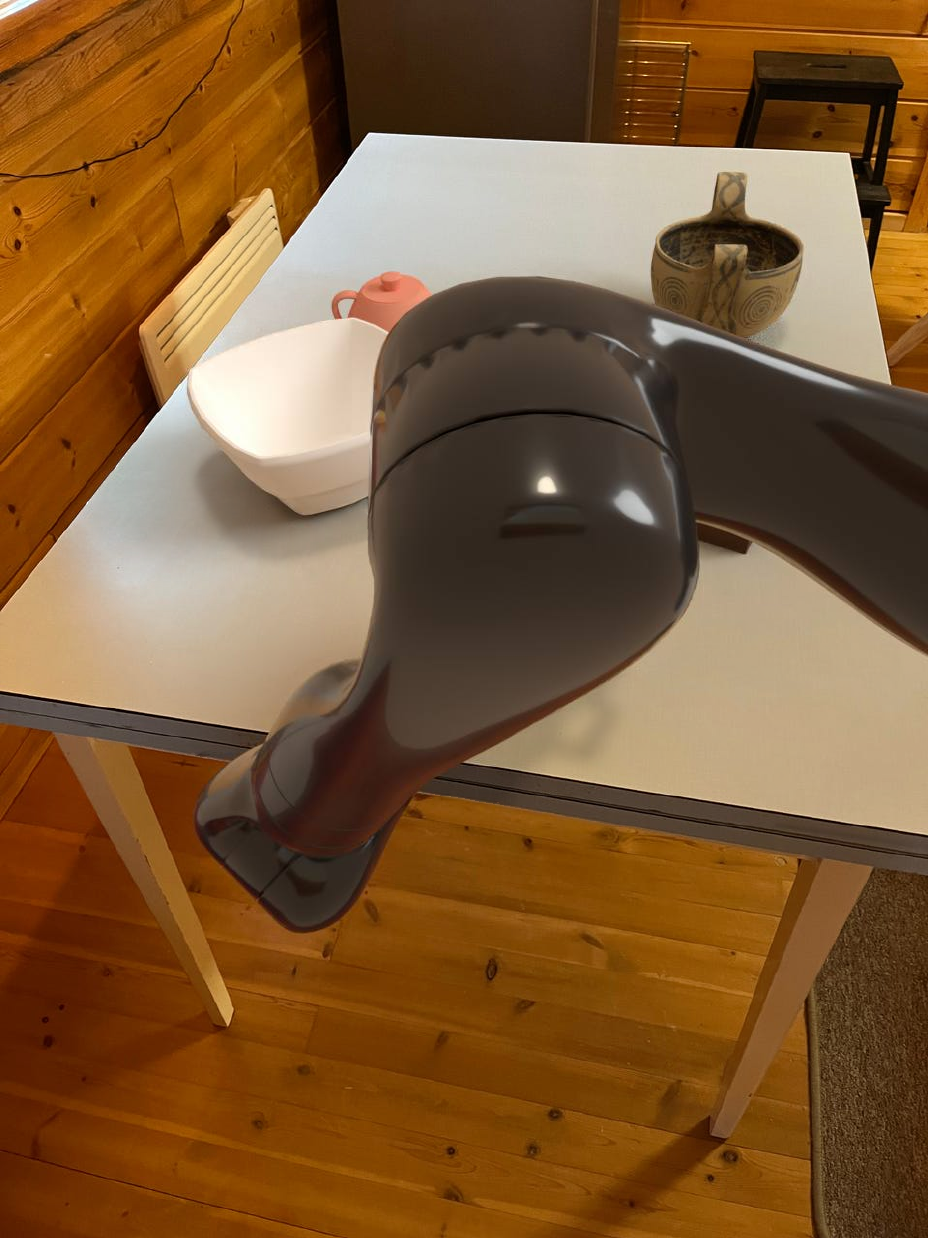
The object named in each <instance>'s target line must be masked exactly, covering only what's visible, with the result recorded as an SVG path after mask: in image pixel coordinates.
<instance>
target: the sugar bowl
mask: <svg viewBox="0 0 928 1238" xmlns="http://www.w3.org/2000/svg"><path fill="white" fill-rule="evenodd" d="M431 295H433V293H431V291H430V290H429V289H428V287H427V286H426V285H425V284H424V283H423V282H422V281H421V280H419V279H418V278H417V277H414V276H412V275H408V274H402V273H400V272H398V271H391V270H390V271H386V272H382V273H381V274H380V275H379V276H375V277H373V278H371V279H369V280H367V281H366V282H365V283H364V284H363V285H362V286H361V287H360V289H359V290H358V292H357V291H355V290H350V289H346V290H342V291H339V292H338V293H336V294H335V295H334V296H333V298H332V300H331V312H332V316H333V318H334V320H335V319H343V317H342V314H341V312H340V309H339V303H340V302H341V301H344V300H353V302H352V303H351V306H350V309H349V311H348V314H347V318H357V319H360V320H363V321H366V322H369V323H371V324H374V325H377V326H378V327H380V328H382V329H384V330H385V331H387V332H389V331H390V330H391V329H392V328H393V326H394V325H395V324H396V323H397V322H398V321H399V320H400V319H401V317H402V316H403V315H404V314H405V313H406V312H407V311H409V310H410V309H412V308H413V307H415V306H416V305H418V304H419V303H421V302H422V301H424V300H425V299H427V298H428V297H430V296H431Z"/></svg>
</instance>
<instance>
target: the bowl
mask: <svg viewBox="0 0 928 1238" xmlns="http://www.w3.org/2000/svg"><path fill="white" fill-rule="evenodd" d="M388 333H389V332H387V331H385V330H384V329H382V328H380V327H378V326H377V325H374V324H371V323H369V322H366V321H363V320H360V319H357V318H348V317H345V318H343V317H342V319H335V318H334V319H328V320H321V321H317V322H313V323H307V324H303V325H300V326H295V327H292V328H288V329H283V330H279V331H275V332H273V333H269V334H266V335H263V336H261V337H258V338H255V339H251V340H249V341H246V342H243V343H239V344H238V345H236V346H233V347H230V348H228V349H226V350H224V351H221V352H219V353H216V354H214V355H212V356H210V357H208V358H206V359H205V360H203V361H201V362H199V363H197V364H196V365H194V366H192V367H191V368H190V369H189V371H188V374H187V383H186V396H187V398H188V402H189V406H190V409H191V411H192V413H193V415H194V417H195V418H196V420H197V422H198V424H199V425H200V427H201V429H202V431H204V432H205V433H206V434H207V436H209V437H210V439H211V440H213V442H214V443H215V444H216V445H217V446H218V447H219V448H220V449H221V451H222V452H223V453H225V454H226V456H227V457H228V458H229V459H230V460H231V461H232V462H233V463H234V464H235V465H236V467H237V468H238V469H239V470H240V471H241V472H242V473H243V474H244V475H245V476H246V477H247V478H248V479H249V481H251V482H253V483H254V484H255V485H256V486H257V487H259V488H260V489H261V490H263V492H266V493H268V494H270V495H272V496H274V497H276V498H277V499H278V500H279V501H280V502H281V503H283V504H284V505H285V506H287V507H288V508H290V509H291V510H292V511H293V512H294V513H297V514H299V515H301V516H308V515H316V514H320V513H324V512H328V511H332V510H336V509H339V508H342V507H345V506H348V505H351V504H354V503H356V502H359V501H361V500H363V499H365V498H368V489H369V451H370V439H371V437H370V415H371V396H372V384H373V376H374V371H375V366H376V361H377V357H378V353H379V351H380V348H381V345H382V344H383V342H384V340H385V338H386V336H387V335H388Z"/></svg>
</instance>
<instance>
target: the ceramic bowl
mask: <svg viewBox="0 0 928 1238" xmlns="http://www.w3.org/2000/svg"><path fill="white" fill-rule="evenodd" d="M747 183H748V174H747V173H746V172H735V171H720V172H719V171H718V173H717V175H716V180H715V186H714V190H713V191H714V192H713V198H712V205H711V210H710V211H709V212H707V213H706V214H704V215H700V216H696V217H689V218H686V219H683V220H679V221H676V222H674V223H671V224H668V225H667V226H665V227H663V228H662V229H661V230H660V231H659V232H658V233H657V235H656V237H655V244H654V247H653V251H652V257H651V263H650V283H651V293H652V295H653V296H652V297H653V300H654V304H655V305H656V306H658V307H661V308H664V309H667V310H669V311H672V312H675V313H677V314H680V315H683V316H686V317H688V318H691V319H694V320H696V321H699V322H702V323H705V324H707V325H710V326H713V327H715V328H718V329H721V330H724V331H726V332H729V333H732V334H734V335H737V336H740V337H742V338H745V339H748V338H750V337H753V336H755V335H757V334H759V333H761V332H762V331H764V330H766V329H768V328H769V327H770V326H772V325H773V324H775V322H777V321H778V320H779V318H780V317H782V315H783V314H784V312H785V311H786V310H787V308H788V307H789V306H790V304H791V301H792V299H793V297H794V294H795V293H796V290H797V287H798V283H799V280H800V276H801V274H802V273H801V272H802V268H803V267H802V266H803V260H804V259H803V258H804V251H805V250H804V249H805V246H804V243H803V242H802V240H801V239H800V237H799V236H798V235H796V234H795V233H794V232H792V231H791V230H789V229H788V228H786V227H783V226H781V225H779V224H777V223H774V222H773V223H772V222H771V221H767V220H764V219H759V218H755V217H751V216H750V215H749V214H748V213H747V211H746V193H747Z"/></svg>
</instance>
